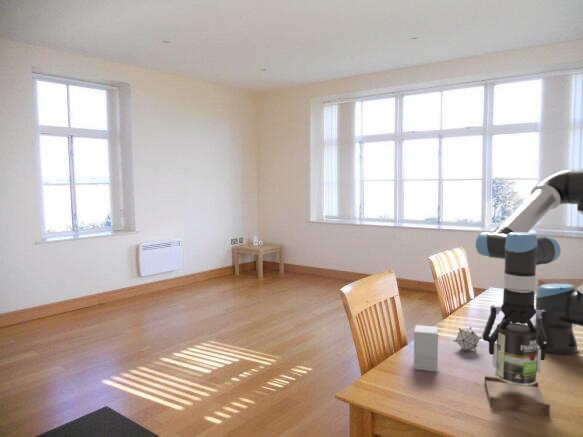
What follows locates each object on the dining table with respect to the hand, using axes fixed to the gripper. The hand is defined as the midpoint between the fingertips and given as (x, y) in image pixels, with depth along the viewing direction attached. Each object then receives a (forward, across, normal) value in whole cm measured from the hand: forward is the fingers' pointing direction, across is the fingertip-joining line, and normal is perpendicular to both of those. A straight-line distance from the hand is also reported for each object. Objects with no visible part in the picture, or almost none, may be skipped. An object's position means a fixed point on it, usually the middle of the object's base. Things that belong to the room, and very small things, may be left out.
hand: (515, 368), depth 120 cm
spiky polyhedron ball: (+9, +10, -34) cm, 37 cm away
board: (+9, 0, 0) cm, 9 cm away
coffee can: (+3, 0, 0) cm, 3 cm away
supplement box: (+9, +24, -15) cm, 30 cm away
